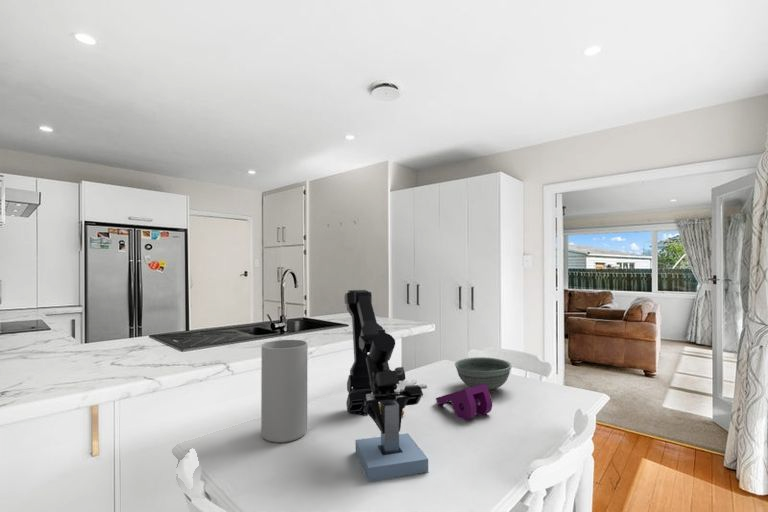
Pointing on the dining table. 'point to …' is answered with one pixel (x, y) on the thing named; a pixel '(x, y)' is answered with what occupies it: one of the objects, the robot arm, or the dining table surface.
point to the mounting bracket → (469, 401)
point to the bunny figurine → (407, 383)
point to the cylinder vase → (284, 390)
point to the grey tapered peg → (390, 427)
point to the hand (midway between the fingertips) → (391, 432)
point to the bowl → (483, 372)
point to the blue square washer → (390, 458)
